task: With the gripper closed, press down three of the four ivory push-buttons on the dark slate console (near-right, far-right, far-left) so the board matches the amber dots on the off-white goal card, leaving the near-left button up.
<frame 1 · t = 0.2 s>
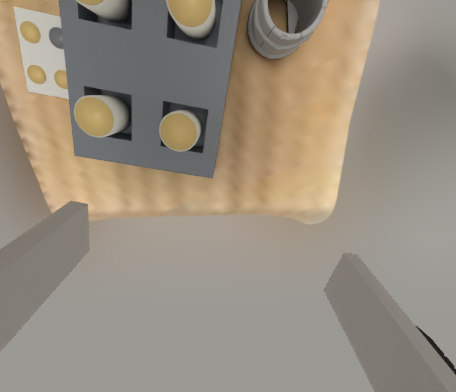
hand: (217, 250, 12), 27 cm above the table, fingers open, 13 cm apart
goal card: (51, 57, 31), on the table
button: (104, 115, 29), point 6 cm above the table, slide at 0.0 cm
console: (159, 71, 32), on the table
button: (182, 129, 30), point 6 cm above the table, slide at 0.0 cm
mug: (278, 9, 30), on the table
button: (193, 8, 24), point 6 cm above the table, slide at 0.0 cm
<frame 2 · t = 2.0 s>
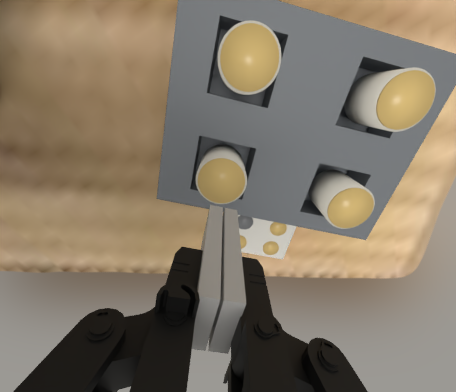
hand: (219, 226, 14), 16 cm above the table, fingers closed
goal card: (257, 232, 33), on the table
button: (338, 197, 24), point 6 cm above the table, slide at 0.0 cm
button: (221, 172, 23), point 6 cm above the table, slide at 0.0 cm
console: (283, 129, 27), on the table
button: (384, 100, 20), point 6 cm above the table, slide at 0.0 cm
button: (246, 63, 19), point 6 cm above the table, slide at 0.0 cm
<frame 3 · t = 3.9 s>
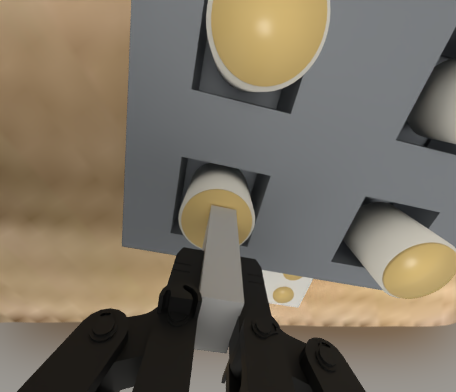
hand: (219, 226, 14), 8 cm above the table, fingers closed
goal card: (265, 275, 25), on the table
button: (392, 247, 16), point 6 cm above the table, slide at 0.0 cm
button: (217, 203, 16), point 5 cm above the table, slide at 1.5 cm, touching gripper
console: (305, 142, 19), on the table
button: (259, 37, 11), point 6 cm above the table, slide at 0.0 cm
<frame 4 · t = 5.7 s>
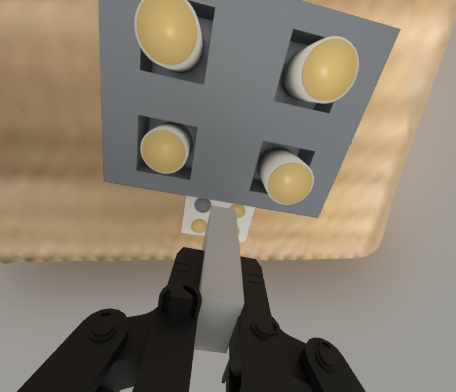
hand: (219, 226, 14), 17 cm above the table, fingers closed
goal card: (217, 216, 34), on the table
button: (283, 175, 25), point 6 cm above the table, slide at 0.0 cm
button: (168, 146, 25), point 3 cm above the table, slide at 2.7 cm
console: (232, 110, 27), on the table
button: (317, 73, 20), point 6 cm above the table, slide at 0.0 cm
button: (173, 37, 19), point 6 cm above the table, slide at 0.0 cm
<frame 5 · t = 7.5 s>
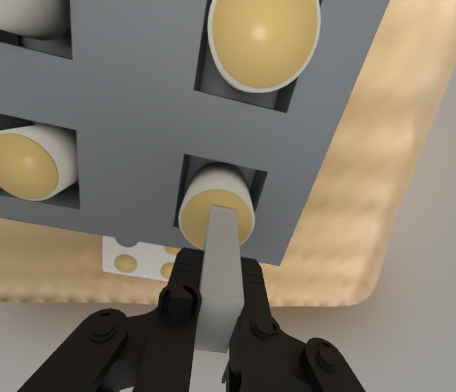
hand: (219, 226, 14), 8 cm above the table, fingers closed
goal card: (152, 250, 25), on the table
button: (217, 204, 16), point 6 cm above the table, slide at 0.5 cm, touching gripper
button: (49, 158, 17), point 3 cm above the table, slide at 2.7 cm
console: (155, 106, 19), on the table
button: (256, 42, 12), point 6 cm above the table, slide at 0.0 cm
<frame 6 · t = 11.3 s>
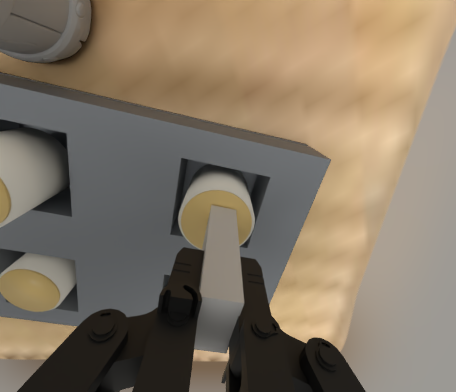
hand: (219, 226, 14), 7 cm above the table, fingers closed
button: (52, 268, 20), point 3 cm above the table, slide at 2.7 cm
console: (142, 215, 22), on the table
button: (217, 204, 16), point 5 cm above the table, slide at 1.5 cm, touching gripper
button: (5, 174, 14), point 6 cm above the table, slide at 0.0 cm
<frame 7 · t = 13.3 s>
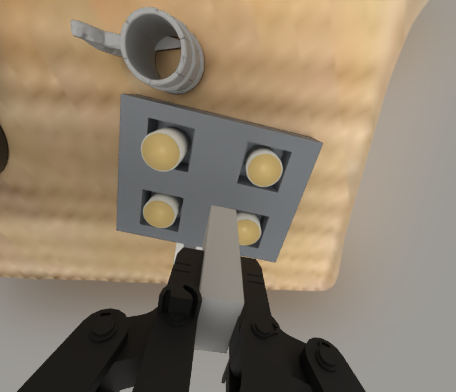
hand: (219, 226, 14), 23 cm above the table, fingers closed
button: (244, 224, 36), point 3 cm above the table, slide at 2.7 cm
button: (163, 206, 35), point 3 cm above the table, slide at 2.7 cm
console: (212, 179, 37), on the table
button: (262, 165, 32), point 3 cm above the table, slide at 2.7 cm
mug: (162, 60, 30), on the table
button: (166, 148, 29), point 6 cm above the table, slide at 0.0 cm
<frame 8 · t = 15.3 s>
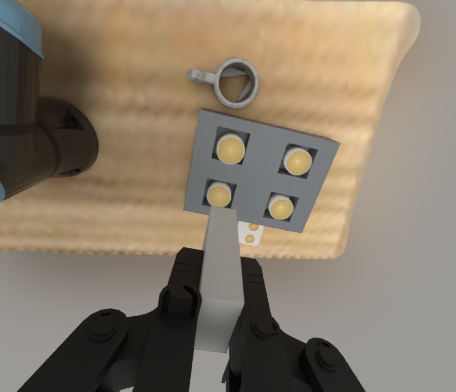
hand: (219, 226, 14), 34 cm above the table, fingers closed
goal card: (241, 229, 54), on the table
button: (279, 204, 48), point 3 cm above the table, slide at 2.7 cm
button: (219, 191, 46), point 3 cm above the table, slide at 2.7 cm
console: (254, 170, 48), on the table
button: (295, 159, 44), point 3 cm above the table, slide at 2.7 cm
mug: (223, 83, 41), on the table
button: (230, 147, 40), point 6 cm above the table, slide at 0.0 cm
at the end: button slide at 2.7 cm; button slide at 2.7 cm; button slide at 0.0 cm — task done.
